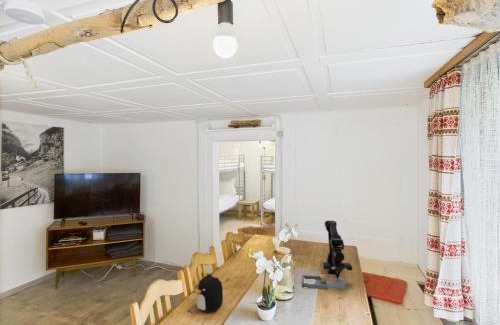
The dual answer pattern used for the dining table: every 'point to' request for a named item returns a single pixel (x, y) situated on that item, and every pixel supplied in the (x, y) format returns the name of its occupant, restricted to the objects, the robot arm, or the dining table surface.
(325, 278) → the tile
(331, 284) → the light grey slab
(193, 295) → the dining table surface
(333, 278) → the tile
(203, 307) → the penguin
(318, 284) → the tray
